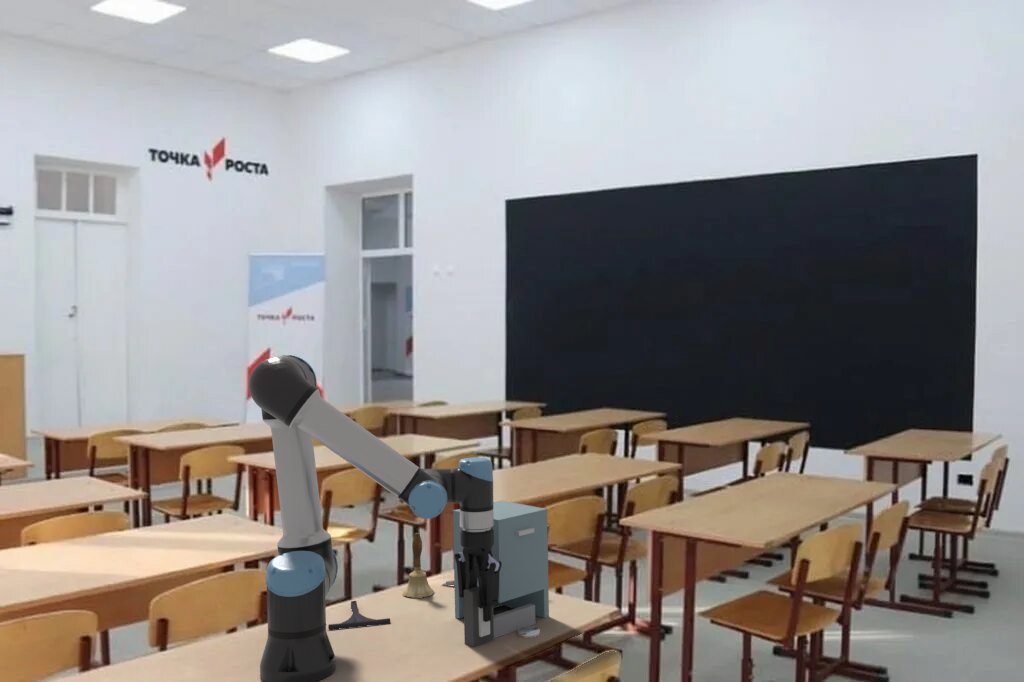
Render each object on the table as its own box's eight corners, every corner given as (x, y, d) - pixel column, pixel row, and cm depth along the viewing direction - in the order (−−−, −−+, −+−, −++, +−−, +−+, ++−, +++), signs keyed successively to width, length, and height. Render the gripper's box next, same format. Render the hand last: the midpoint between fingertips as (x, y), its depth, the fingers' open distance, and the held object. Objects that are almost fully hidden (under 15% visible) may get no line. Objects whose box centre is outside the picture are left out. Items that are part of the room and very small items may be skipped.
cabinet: (503, 634, 205) (501, 520, 205) (455, 617, 218) (453, 510, 217) (552, 617, 216) (550, 509, 216) (503, 602, 229) (501, 500, 228)
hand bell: (398, 591, 240) (397, 532, 239) (428, 587, 243) (427, 528, 243) (407, 600, 232) (406, 538, 232) (438, 595, 235) (437, 535, 235)
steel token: (530, 640, 202) (530, 635, 202) (513, 636, 205) (513, 630, 205) (544, 634, 206) (544, 629, 206) (528, 630, 209) (527, 625, 209)
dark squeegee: (382, 607, 229) (381, 596, 228) (390, 626, 214) (390, 614, 214) (324, 613, 225) (323, 602, 225) (329, 633, 210) (328, 621, 210)
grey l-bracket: (473, 647, 198) (472, 592, 197) (464, 643, 200) (463, 589, 200) (537, 624, 211) (536, 573, 211) (528, 621, 214) (527, 571, 213)
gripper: (514, 530, 197) (516, 637, 198) (466, 520, 209) (467, 620, 209) (489, 536, 192) (491, 646, 192) (440, 525, 203) (442, 628, 204)
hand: (479, 632), depth 201 cm, fingers closed on grey l-bracket, 3 cm apart
